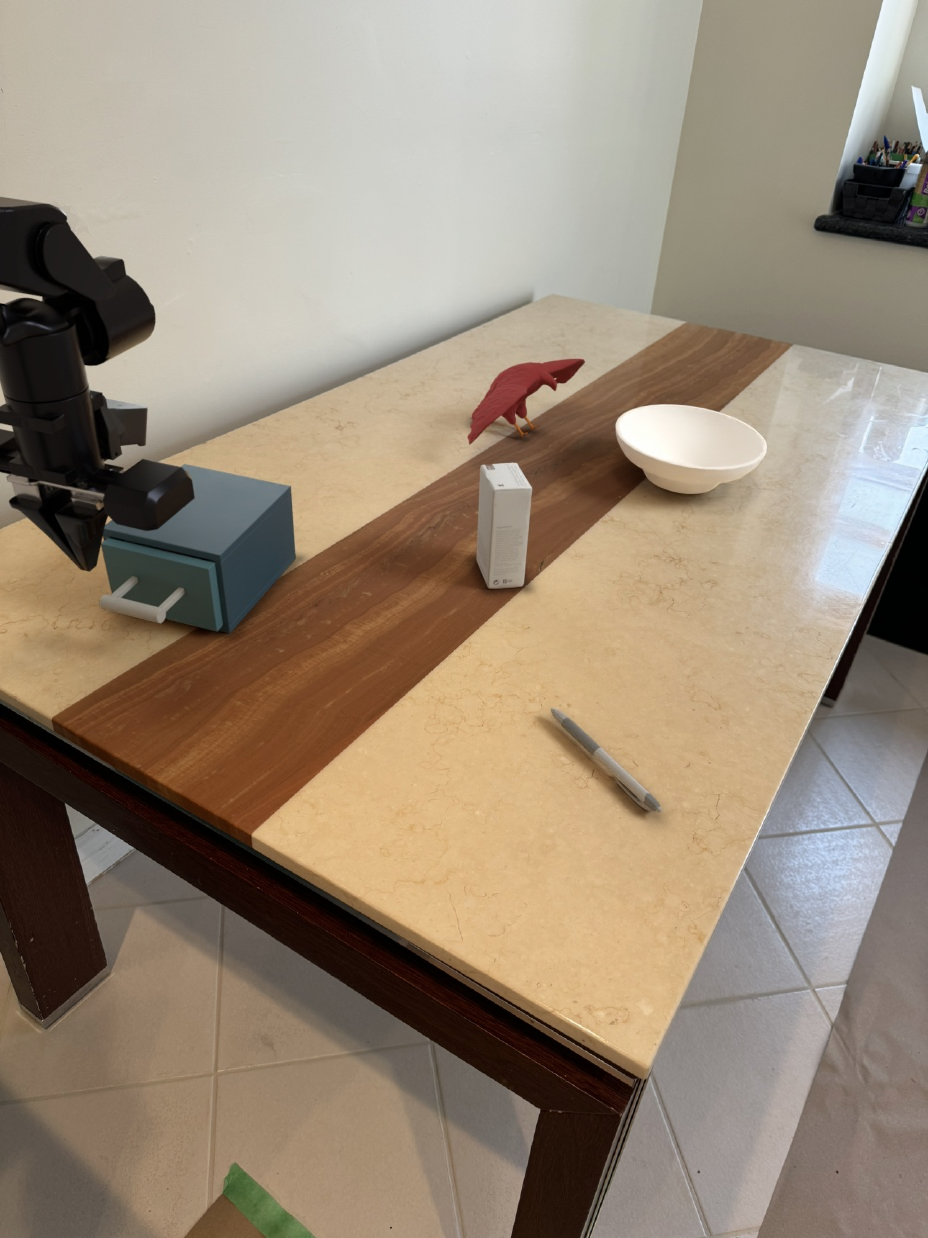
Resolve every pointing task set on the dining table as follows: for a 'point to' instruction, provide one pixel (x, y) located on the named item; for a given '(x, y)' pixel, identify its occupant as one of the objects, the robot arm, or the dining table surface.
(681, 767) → the dining table surface
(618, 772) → the pen
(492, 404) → the decorative bird sculpture
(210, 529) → the cabinet
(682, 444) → the bowl
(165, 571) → the open handled drawer
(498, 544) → the cosmetic box
